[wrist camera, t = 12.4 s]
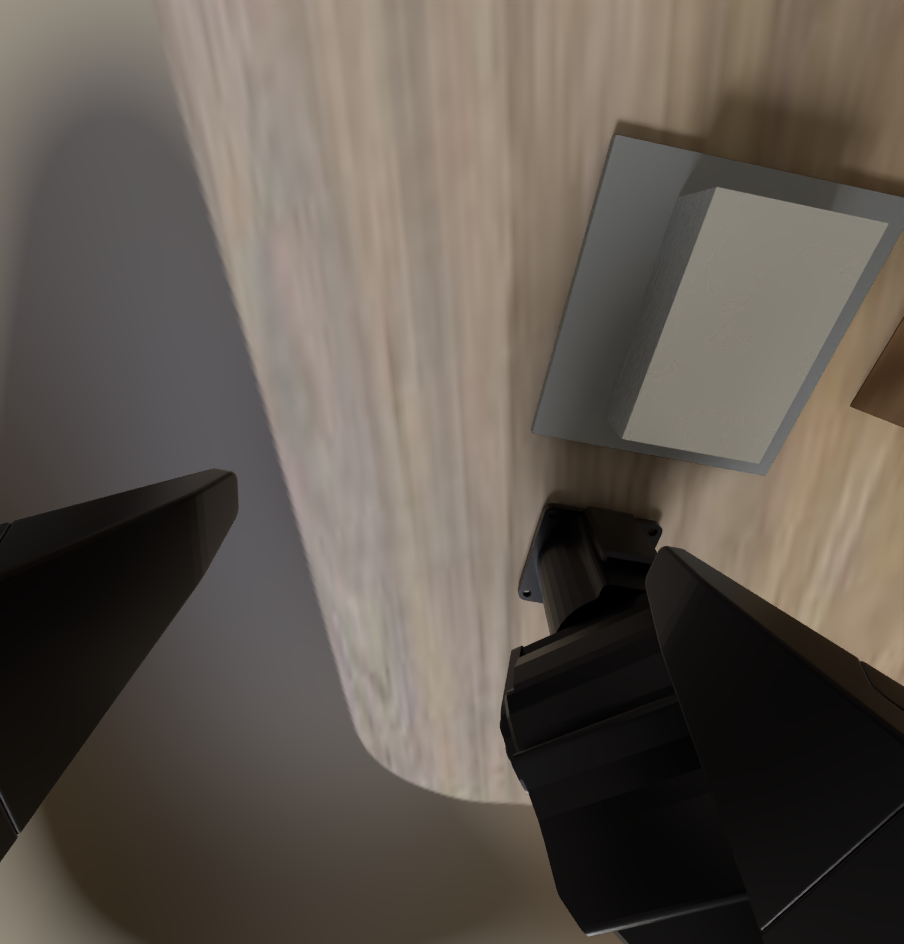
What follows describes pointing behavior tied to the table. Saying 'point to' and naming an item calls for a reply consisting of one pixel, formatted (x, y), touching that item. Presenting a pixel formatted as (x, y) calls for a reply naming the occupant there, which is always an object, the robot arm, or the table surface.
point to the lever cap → (734, 320)
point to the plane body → (886, 383)
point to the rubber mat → (629, 269)
